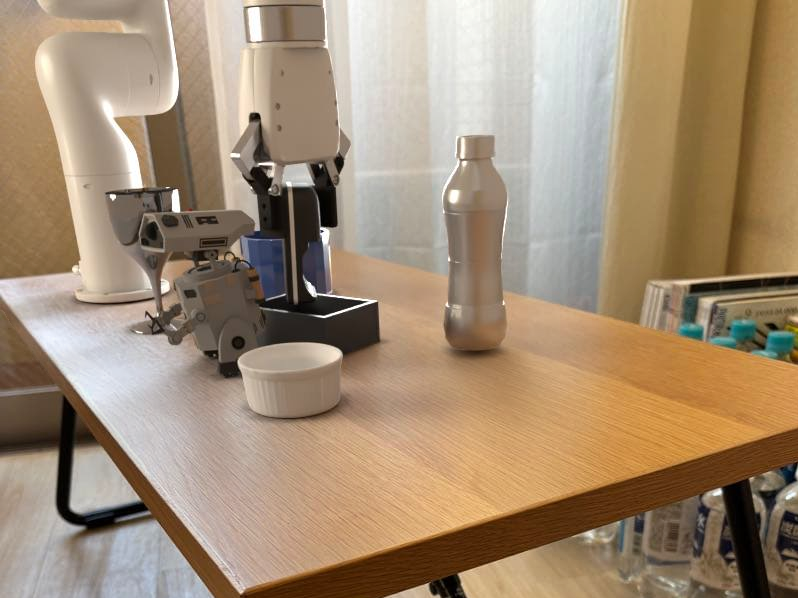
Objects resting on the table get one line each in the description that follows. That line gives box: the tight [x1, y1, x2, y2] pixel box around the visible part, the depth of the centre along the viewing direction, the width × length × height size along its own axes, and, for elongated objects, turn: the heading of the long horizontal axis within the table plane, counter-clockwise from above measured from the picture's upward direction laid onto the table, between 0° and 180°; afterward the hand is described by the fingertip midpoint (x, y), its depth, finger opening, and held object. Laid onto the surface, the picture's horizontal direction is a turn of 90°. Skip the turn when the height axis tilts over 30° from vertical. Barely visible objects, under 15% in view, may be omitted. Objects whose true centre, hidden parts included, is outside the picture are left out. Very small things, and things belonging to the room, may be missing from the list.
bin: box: [256, 293, 381, 356], centre depth 95 cm, size 9×12×4 cm
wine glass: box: [105, 186, 185, 335], centre depth 102 cm, size 8×8×15 cm
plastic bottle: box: [441, 134, 509, 352], centre depth 87 cm, size 6×7×20 cm
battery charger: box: [279, 181, 322, 305], centre depth 92 cm, size 7×4×11 cm, turn 9°
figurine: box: [139, 207, 268, 379], centre depth 86 cm, size 9×12×15 cm
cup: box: [238, 227, 334, 299], centre depth 117 cm, size 11×11×8 cm
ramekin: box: [238, 343, 344, 419], centre depth 77 cm, size 9×9×4 cm
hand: (300, 230), depth 91 cm, fingers closed on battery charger, 6 cm apart
